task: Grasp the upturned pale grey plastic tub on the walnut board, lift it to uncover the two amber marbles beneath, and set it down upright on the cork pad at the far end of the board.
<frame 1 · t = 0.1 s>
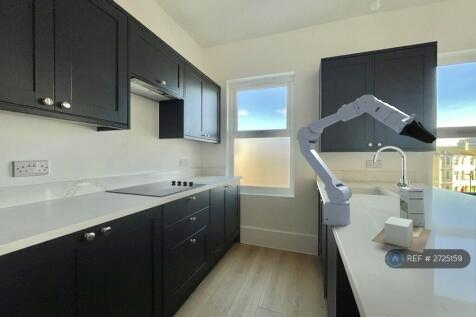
hand: (432, 141, 62), 32 cm above the worktop, tool tilted 50°, fingers open, 7 cm apart
marble a: (397, 237, 63), point 2 cm above the worktop, touching walnut board
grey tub: (399, 240, 64), point 1 cm above the worktop, touching walnut board
walnut board: (403, 238, 68), on the worktop
marble b: (400, 234, 65), point 2 cm above the worktop, touching walnut board
syrup box: (412, 224, 81), on the worktop
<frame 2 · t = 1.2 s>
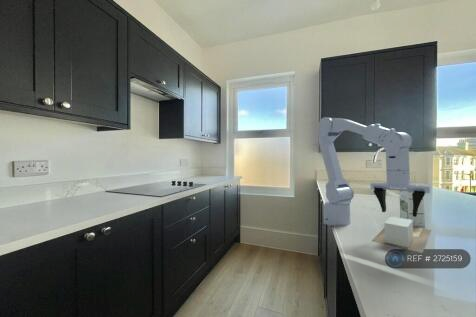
hand: (398, 213, 64), 9 cm above the worktop, tool pointing down, fingers open, 7 cm apart
nothing on the worktop moved.
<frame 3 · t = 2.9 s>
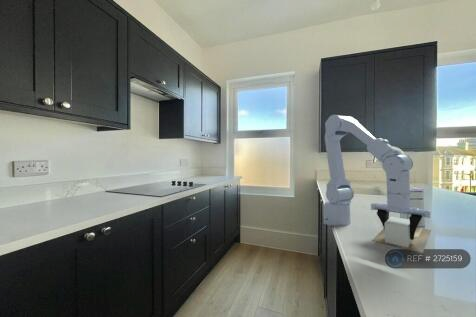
hand: (399, 235, 64), 2 cm above the worktop, tool pointing down, fingers closed on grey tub, 6 cm apart
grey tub: (399, 240, 64), point 1 cm above the worktop, touching gripper, walnut board
everything else where it was.
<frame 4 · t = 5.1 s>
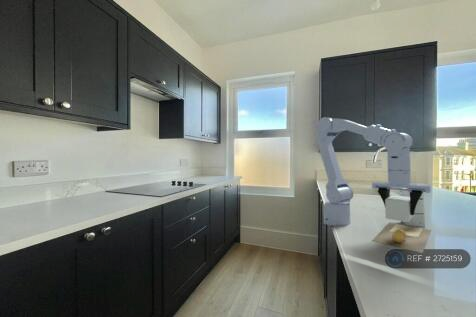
hand: (399, 212, 65), 9 cm above the worktop, tool pointing down, fingers closed on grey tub, 6 cm apart
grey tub: (399, 217, 65), point 8 cm above the worktop, touching gripper
everything else where it was.
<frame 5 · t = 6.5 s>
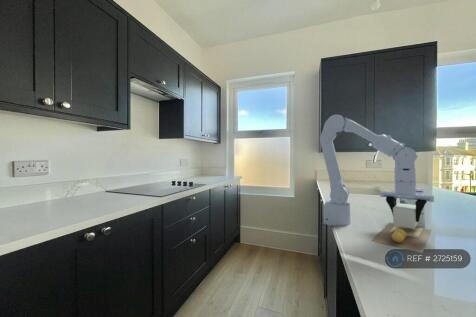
hand: (406, 219, 72), 5 cm above the worktop, tool pointing down, fingers closed on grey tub, 6 cm apart
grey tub: (406, 223, 72), point 3 cm above the worktop, touching gripper
everything else where it was.
when the fingers open (4 cm above the worktop, at t = 7.7 s): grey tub drops 1 cm, resting on walnut board.
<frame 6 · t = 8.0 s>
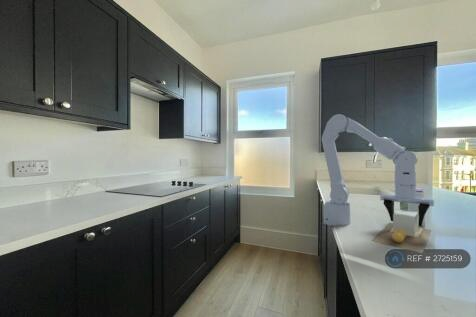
hand: (406, 223, 72), 4 cm above the worktop, tool pointing down, fingers open, 7 cm apart
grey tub: (406, 230, 72), point 1 cm above the worktop, touching walnut board
everything else where it was.
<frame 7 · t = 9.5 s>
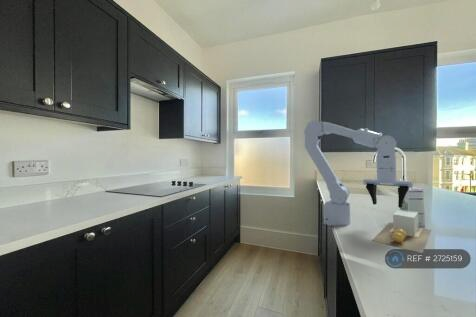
hand: (387, 205, 74), 9 cm above the worktop, tool pointing down, fingers open, 7 cm apart
nothing on the worktop moved.
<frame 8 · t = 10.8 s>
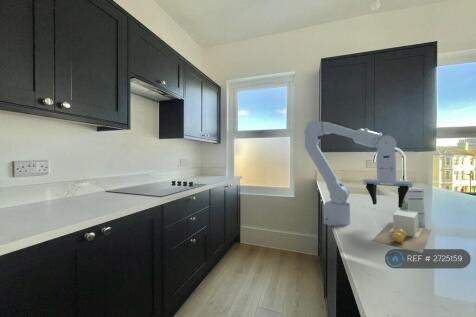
hand: (387, 205, 74), 9 cm above the worktop, tool pointing down, fingers open, 7 cm apart
nothing on the worktop moved.
at the end: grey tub 0.1 cm from the target spot, point 1.1 cm above the worktop; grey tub tilted 0°; the gripper is holding nothing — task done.
